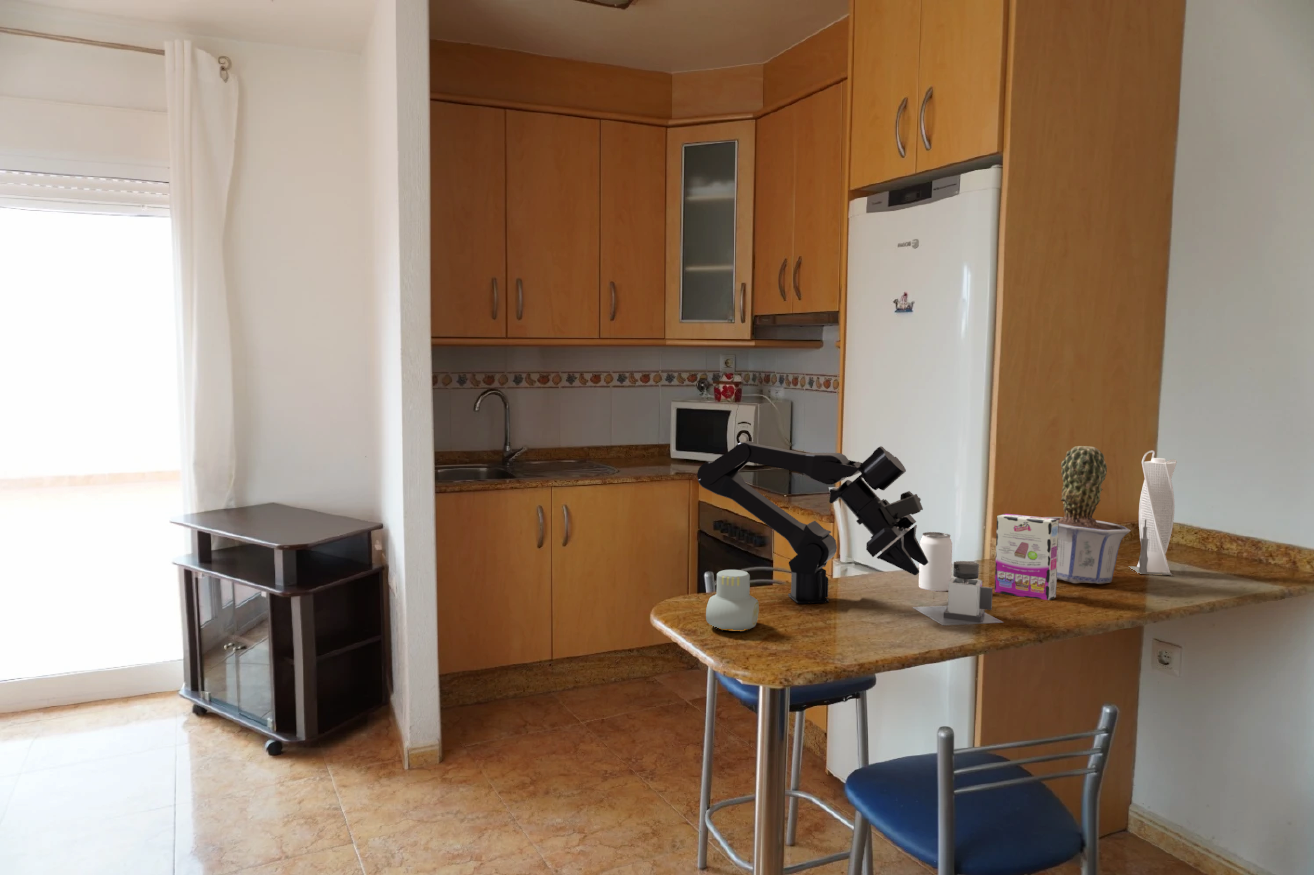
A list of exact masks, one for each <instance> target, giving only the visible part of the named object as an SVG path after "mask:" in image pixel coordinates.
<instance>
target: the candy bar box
mask: <svg viewBox="0 0 1314 875" xmlns="http://www.w3.org/2000/svg"><path fill="white" fill-rule="evenodd" d="M1043 517H1044V516H1043ZM1043 517H1041V516H1033V515H1031V516H1030V515H1022V514H1014V513H1012V514H1011V513H1003V514H999V515H997V517H996V534H995V536H996V538H995V565H994V566H995V568H994V570H995V571H994V574H995V575H994V593H998V594H1002V595H1007V596H1013V595H1014V596H1015V597H1020V598H1027V599H1036V600H1045V601H1051V600H1054V599H1055V598H1056V597H1057V582H1058V581H1057V580H1058V579H1057V553H1058V526H1059V519H1051V518H1043Z"/></svg>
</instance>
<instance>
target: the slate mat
mask: <svg viewBox="0 0 1314 875" xmlns="http://www.w3.org/2000/svg"><path fill="white" fill-rule="evenodd" d="M947 607H948V605H932V606H930V605H928V606H913V607H912V606H911V608H912V609H914V610H915V611H918V612H919V613H921V614H923V616H926V617H927V618H929V619H931V620H933V621H934V622H936V623H938V624H940V625H941V626H959V625H960V626H961V625H981V624H998V623H999V624H1000V623H1001V624H1002V623H1005V622H1004V621H1002V620H1000V619H998V618H996V617H994V616H993V615H991V614H989V613H987V612H985V614H984V616H983V618H982V620H981V622H972V621H965V620H957V619H949V618H944V611H945V610H946V608H947Z"/></svg>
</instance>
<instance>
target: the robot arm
mask: <svg viewBox="0 0 1314 875" xmlns="http://www.w3.org/2000/svg"><path fill="white" fill-rule="evenodd" d="M748 463H753V464H758V465H762V466H767V467H773V468H776V469H777V468H778V469H782V470H787V471H791V472H797V473H800V474H803V475H804V476H807V477H808V478H810V479H812V480H814V481H817V482H819V483H822V484H824V485H835V484H837V483H840V482H841V481H844V480H845V479H846V480H845V481H844V482H843V483H841V484H840V485H839V486H838V488H835V487H834V488H830V489H829V501H828V502H829V504H833V503H836V502H837V501H839V499H840V500H841V501H842V502H843V504H844V505H845V506H846V507H847V508H848V509H849V511H851V512H852V514H853V515H854V516H855V517H856V518H857V520H855V521H856V522H857V524H858V525H859V526H860V525H863V526H864V527H865V528H866V529H867V531H868V532H869V533H870V534H871V535H872V536H871V537H870V540H868V541H867V542H866V552H868V554H869V555H870V556H871V557H872V558H874V557H876V559H878V560H881V561H883V562H886V563H889V564H891V565H892V566H895V567H897V568H899V569H901V570H903V571H904V572H907V573H909V574H911V575H913V576H917V575H919V567H918V566H917V565H916V563H915V562H917V563H920V564H922V565H926V564H927V563H928V560H927V558H926V556H925V554H924V552H923V550H922V549H921V547H920V542H919V541H918V539H917V535H916V533H917V528H918V525H917V524H915V523H917V521H916V520H915V519H914V517H913V515H916V514H918V513H920V512H921V511H923V510H924V508H923V506H922V503H921V500H922V499H921V497H919V495H918V494H917V493H915V494H914V493H912V491H910V490H908V491H905V492H903V493H901V494H900V499H899V500H896V501H893V502H889V501H888V500H887V499H884V498H883V499H881V498H880V496H878V495H877V494H876V493H875V492H874V491H877V490H878V489H879V490H881V491H885V490H887V489H888V488H889V487H890V486H891V485H892V484H894V483H895V481H897V480H898V479H899V478H900V477H901V476H903V475H904V474H906V472H907V469H906V468H905V465H904V464H903V463H902V461H901V460H899V458H898V457H897V456H895V455H893V454H892V453H891V452H890V451H889V450H886V448H884V447H883V445H880V446H879V447H877V448H876V449H875V450H874V451H873V453H871V455H870V456H869V457H867V458H866V459H865V460H864V461H862V462H860V461H855V460H849V459H848V457H847V456H846V455H845V454H843V453H840V452H802V451H795V450H791V449H786V448H781V447H776V446H771V445H764V444H759V443H754V442H753V441H750V440H747V441H743V442H739V443H737V444H736V445H735V446H734V447H733V448H731V449H730V450H729V451H727V452H725V453H724V454H722V455H721V456H719V457H718V458H716V459H715V460H713V461H707V462H704V463H703V464H701V465H700V466H699V468H698V470H697V475H696V476H697V482H698V484H699V485H700V486H701V487H702V488H703V489H704V490H707V491H709V492H711V493H713V494H714V495H715V494H716V495H718V496H721V497H722V498H723V497H724V498H726V499H730V500H732V501H733V502H735V504H737V505H739V506H740V507H741V508H743V509H744V510H746V512H747V511H748V513H750V514H751V515H752V516H754V517H756V518H757V519H758V520H759V521H761V522H762V523H764V524H765V525H766V526H768V527H769V528H771V529H772V530H773V531H774V532H776V533H777V534H778V535H780V536H781V537H783V538H784V539H785V540H786V541H787V542H788V543H789V545H790V547H791V548H792V550H793V552H794V553H795V554H796V555H795V556H794V557H793V558H791V560H789V561H788V565H789V569H790V573H791V574H790V575H791V577H790V579H791V581H790V584H791V585H790V587H791V588H790V593H788V595H787V596H788V597H789V598H790V599H792V600H793V601H794V602H795V603H797V604H798V605H799V604H803V605H804V604H821V603H822V604H823V603H826V604H827V603H829V602H830V601H829V599H828V596H829V577H828V576H827V570H826V569H824V568H825V567H826V566H827V564H828V562H829V561H830V560H831V559H832V558H834V556H835V555H836V553H837V549H838V546H837V545H838V544H837V541H836V539H835V537H834V536H833V535H831V533H832V530H828V529H826V528H825V527H823V526H822V525H821V524H820V523H819V522H817V521H816V520H813V521H811V522H809V523H807V524H806V523H803V522H801V521H799V520H798V519H797V518H795V517H794V516H792V515H791V514H790V513H788V512H787V511H785V510H784V509H783V508H781V507H780V506H778V505H777V504H776V503H774V502H773V501H772V500H770V499H769V498H767V497H766V496H764V495H763V494H762V493H760V492H759V491H757V490H756V489H755V488H753V487H752V486H750V485H749V484H747V482H745V480H744V478H743V477H742V475H741V473H740V470H742V469H743V468H744V467H745V466H746V465H747V464H748ZM858 474H860V475H859V476H857V477H856V478H855V479H854V480H853V481H852V480H850V479H847V478H851V477H854V476H855V475H858ZM914 524H915V525H914ZM913 525H914V526H913ZM912 526H913V527H912ZM878 554H879V555H878ZM876 555H877V556H876ZM914 561H915V562H914Z"/></svg>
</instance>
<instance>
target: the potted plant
mask: <svg viewBox="0 0 1314 875" xmlns="http://www.w3.org/2000/svg"><path fill="white" fill-rule="evenodd" d="M1060 467H1061V471H1060V472H1061V477H1062V481H1063V482H1062V488H1061V499H1060V502H1062V504H1063V513H1064V516H1063V517H1062V516H1043V518H1051V519H1059V526H1058V553H1057V580H1060V581H1065V582H1069V583H1072V584H1080V583H1088V584H1097V585H1104V584H1108V583H1110V584H1111V583H1112V580H1113V576H1114V571H1115V567H1116V563H1117V557H1118V553H1119V549H1120V546H1121V542H1122V540H1123V538H1124V537H1125V536H1126V535H1127V534H1129V533H1130V532H1131V531H1132V530H1131V529H1130V528H1128V527H1126V526H1124V525H1121V524H1118V523H1113V522H1107V521H1104V520H1096V519H1095V518H1093V515H1094V514H1095V512H1096V509H1097V506H1098V505H1099V503H1100V502H1101V492H1102V491H1104V490H1103V488H1102V485H1103V483H1104V481H1105V479H1106V476H1107V469H1108V466H1107V463H1106V461H1105V454H1103V453H1102V452H1101V450H1100V449H1099V448H1096V447H1095V446H1089V445H1088V446H1087V445H1085V446H1084V445H1078V446H1074V447H1071V449H1070V450H1067V451H1066V455H1065V457H1064V458H1063V459H1062V461H1061V462H1060Z"/></svg>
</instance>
